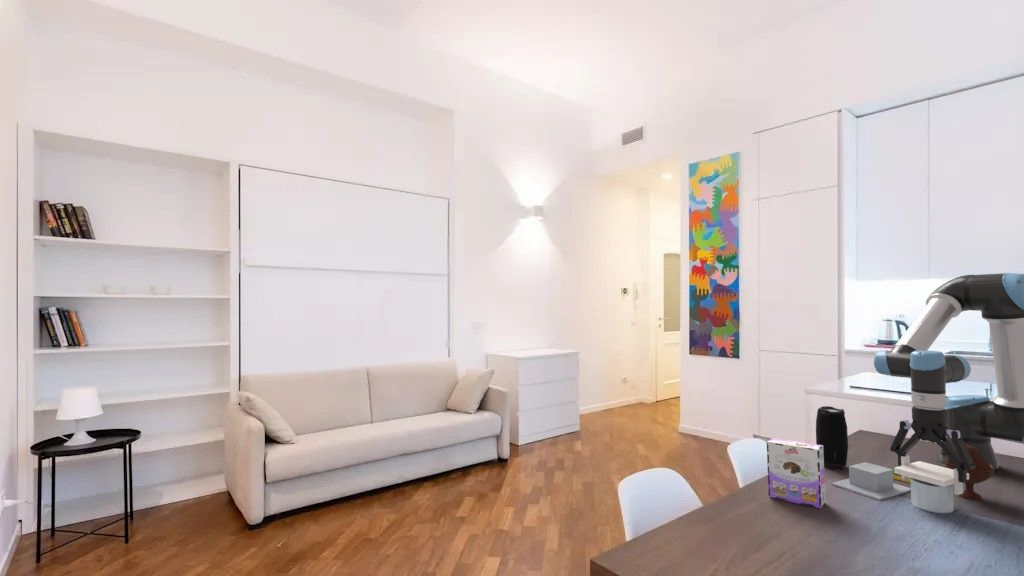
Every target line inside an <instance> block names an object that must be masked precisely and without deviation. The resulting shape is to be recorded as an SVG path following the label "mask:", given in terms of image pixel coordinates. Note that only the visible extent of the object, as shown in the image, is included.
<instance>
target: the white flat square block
mask: <svg viewBox="0 0 1024 576" xmlns="http://www.w3.org/2000/svg"><path fill="white" fill-rule="evenodd" d="M894 467H895V468H894ZM894 467H893V468H894V473H896V474H899V475H903V476H907V477H910V478H914V479H917V480H921V481H925V482H928V483H932V484H935V485H939V486H943V487H946V486H949V485H952V484H953V485H954V470H953V469H949V468H947V467H946V466H945V467H944V466H940V465H936V464H932V463H929V462H925V461H920V460H918V461H915V462H910V464H907V465H903V466H899V467H896V466H894ZM968 479H969V473H967V480H968Z"/></svg>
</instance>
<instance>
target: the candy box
mask: <svg viewBox="0 0 1024 576" xmlns="http://www.w3.org/2000/svg"><path fill="white" fill-rule="evenodd" d="M766 451H767V452H766V457H767V458H766V459H767V464H766V465H767V486H768V493H767V494H768V495H767V496H770V497H773V498H772V499H774V498H777V499H776V500H780V499H781V500H780V501H784V500H786V502H788V501H789V502H790V503H793V502H794V504H797V503H798V504H797V505H802V504H803V506H806V505H807V507H811V506H812V508H815V507H816V508H817V509H822V508H823V507H824V505H825V504H826V482H825V481H826V480H825V465H824V450H823V445H816V443H809V442H808V443H807V442H802V441H795V440H789V439H783V438H782V439H781V438H775V437H772V438H770V439H769V440H768V441H766ZM770 497H769V498H770Z"/></svg>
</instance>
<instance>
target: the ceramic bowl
mask: <svg viewBox="0 0 1024 576" xmlns="http://www.w3.org/2000/svg"><path fill="white" fill-rule="evenodd" d="M910 480H911V483H910V488H911V491H910V502H911V505H912V506H913V507H915V508H917V509H920V510H922V511H926V512H929V513H935V514H951V513H953V512H954V507H955V506H954V484H952V485H949V486H946V487H943V486H939V485H935V484H932V483H928V482H925V481H921V480H917V479H914V478H910Z"/></svg>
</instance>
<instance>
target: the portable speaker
mask: <svg viewBox="0 0 1024 576" xmlns="http://www.w3.org/2000/svg"><path fill="white" fill-rule="evenodd" d="M845 412H846V411H845V409H843V408H840V409H839V408H836V407H833V406H829V405H826V406H820V407H819V408H817V411H816V413H817V414H816V419H815V444H816V445H823V450H824V466H825V467H826V468H827V469H829V470H842V469H843V467H844V468H845V467H846V466H847V462H848V461H847V460H848V451H849V442H848V441H849V440H848V439H849V438H848V436H849V435H848V424H847V420H846V416H845Z"/></svg>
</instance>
